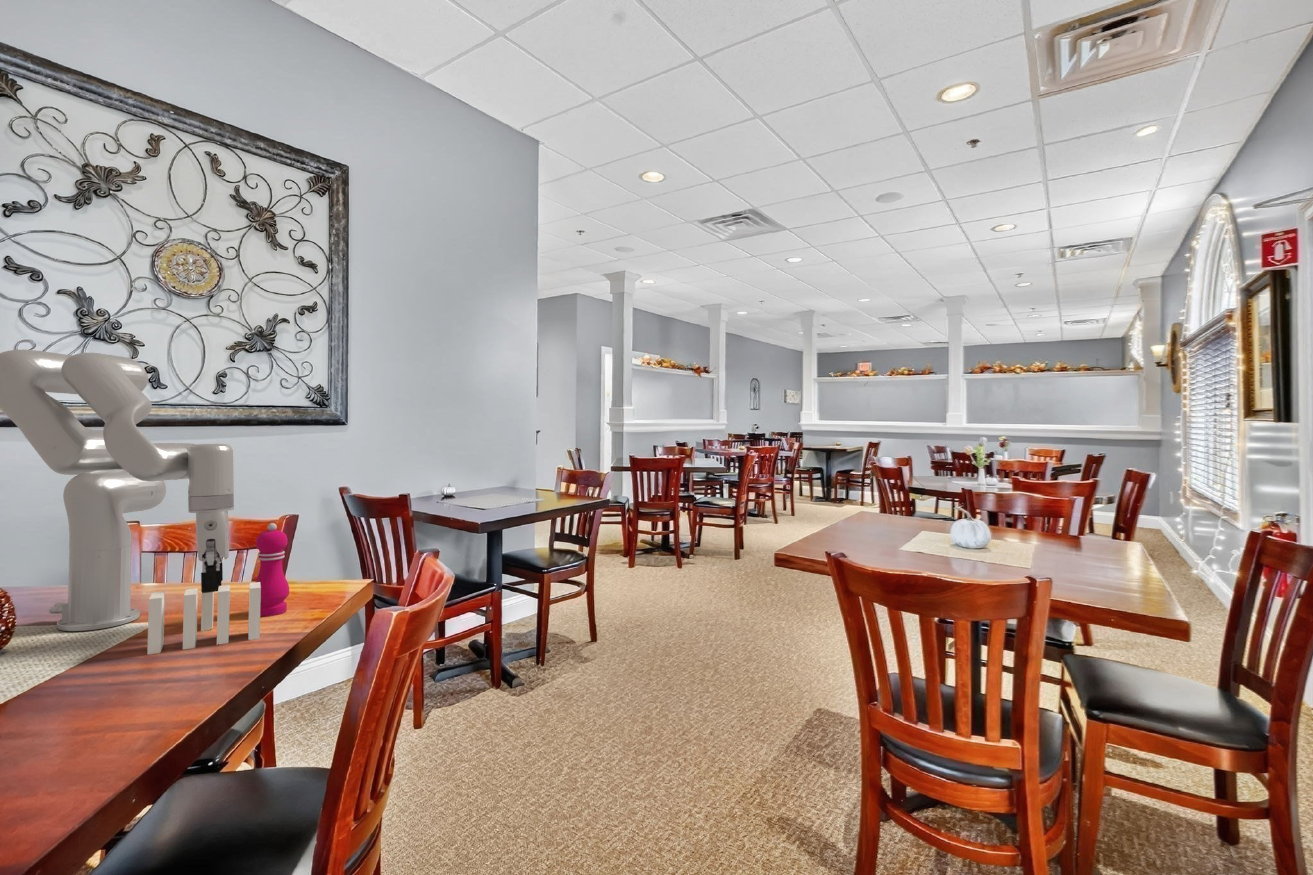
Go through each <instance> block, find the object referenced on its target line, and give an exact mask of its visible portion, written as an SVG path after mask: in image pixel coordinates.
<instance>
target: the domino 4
mask: <svg viewBox="0 0 1313 875" xmlns="http://www.w3.org/2000/svg"><path fill="white" fill-rule="evenodd" d="M248 586H249V587H248V622H247V624H248V626H247V627H248V628H247V629H248V630H247V631H248V634H247V636H248V637H247V638H248V641H253V640H259V639H260V637H261V635H260V634H261V633H260V632H261V616H260V603H261V585H260V582H249V585H248Z"/></svg>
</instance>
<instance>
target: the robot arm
mask: <svg viewBox="0 0 1313 875" xmlns="http://www.w3.org/2000/svg"><path fill="white" fill-rule="evenodd" d="M148 379H149V376H148V373H147V371H146V369H145V368H144V367H143V365H142V364H141V363H139V361H137V360H135V359H132V358H130V357H125V356H119V355H112V354H105V353H101V352H99V353H98V352H80V353H76V354H74V355H72V354H65V353H58V352H49V351H42V350H35V349H11V350H6V351H2V352H0V411H1V412H3V414H4V415H5V416H7V417H8V418H9V419H10V420H11V421H12V422H13V423H14V424H15V426H16V427H17V428H18V429H19V430H20V431H21V433H22V434H23V436H24V438H25V439H26V440H27V441H28V442H29V444H30V445H31V446H32V448H33V449H34V450H35V451H36V453H37V454H38V456H40V458H41V459H42V460H43V462H44V463H45V464H46V465H47V467H48V468H49V469H51V470H52V471H53V472H55V473H56V474H61V475H64V476H66V475H69V476H74V475H75V476H74V477H72V478H71V479H70V480H69V481H68V482H67V484H65V485H64V488H63V493H62V494H63V495H62V496H63V498H62V499H63V503H64V507H65V511H66V516H67V521H68V533H69V537H68V538H69V540H68V543H69V546H68V588H67V589H68V590H67V591H68V592H67V594H68V595H67V597H68V598H67V601H57V602H55V603H54V605H53V606H52V607H50V609H49V613H50V614H61V619H59V620H57V621H56V629H58V630H60V631H63V632H64V631H66V632H85V631H92V630H95V631H96V630H100V629H108V628H112V627H118V626H120V625H125V624H128V623H131V622H133V621H135V620H137V619H139V617H140V614H141V613H140V611H141V610H139V609H136V608H131V594H132V593H131V592H132V589H131V588H132V586H131V585H132V553H133V552H132V551H133V550H132V549H133V542H132V541H133V540H132V531H131V528H130V526H129V524H128V523H127V521H126V519H125V517H124V515H123V514H127V513H129V514H130V513H134V512H135V513H136V512H142V511H148V510H151V509H153V508H155V507H157V506H159V505H160V504H161V503H162V502H163V501H164V499H165V497H166V492H167V487H166V483H165V481H171V480H172V481H174V480H175V481H176V480H177V481H178V480H186V479H187V487H188V488H187V499H188V500H187V502H188V503H187V504H188V505H187V506H188V507H187V509H188V513H191V514H195V529H196V530H195V532H196V534H195V535H196V536H195V537H196V548H197V556H198V561H200V562H202V565H201V566H202V570H201V571H202V572H201V573H200V581H201V582H200V588H201V589H200V591H201V594H202V593H208V592H214V593H215V592H218V588H219V586H222V582H223V579H224V578H223V576H224V575H223V574H224V573H223V562H222V558H224V559H223V560H228V558H229V556H230V530H229V529H230V525H229V524H230V522H229V513H228V512H229V511H233V510H234V509H235V507H234V506H235V503H234V501H235V500H234V499H235V498H234V496H235V494H234V488H235V487H234V481H235V480H234V449H233V447H232V446H231V445H229V444H227V443H201V444H200V443H198V444H196V443H189V442H188V443H186V442H185V443H183V442H181V443H179V442H163V443H162V442H160V443H159V442H158V443H156V442H155V443H154V442H151V441H150V440H149V439H148V438H147V436H145V435H144V433H142V431H141V430H140V429H139V428H138V427H137V424H139V423H140V422H142V421H143V420H144V419H145V418H147V417H148V415H149V414H150V413H151V411H152V407H153V404H152V402H151V400H150V399H149V398H148V397H147V396H146V394H144V393H143V391H144V390H145V389H146V388H147V386H148V383H149V380H148ZM48 393H56V394H68V395H69V394H70V395H78V396H79V397H80V398H81V399H82V400H83V401H84V402H85V404H86V405H88V407H89V408H91V410H92V411H94V412H95V414H96V415H97V416H98V417H99V418H100V419H101V420H102V421H103V422H104V425H103V428H102V429H92V428H87V427H85V425H83V424H82V423H81V422H80V421H79V420H78V419H77V417H76V416H75V414H74V413H73V412H72V411H71V409H69V408H68V407H67V406H66V405H65V404H63V402H61V401H59V400H57V399H56V398H54V397H53V396H51V395H50V394H48Z"/></svg>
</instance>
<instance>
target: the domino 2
mask: <svg viewBox="0 0 1313 875" xmlns="http://www.w3.org/2000/svg"><path fill="white" fill-rule="evenodd" d="M198 593H199V588H198V587H196V588H186V589H185V591H184V594H183V613H182V614H183V617H182V618H183V619H182V623H183V626H182V651H183V650H191V649H195V648H196V645H197V640H198V639H197V637H198V602H199V601H198V595H199V594H198Z"/></svg>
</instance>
